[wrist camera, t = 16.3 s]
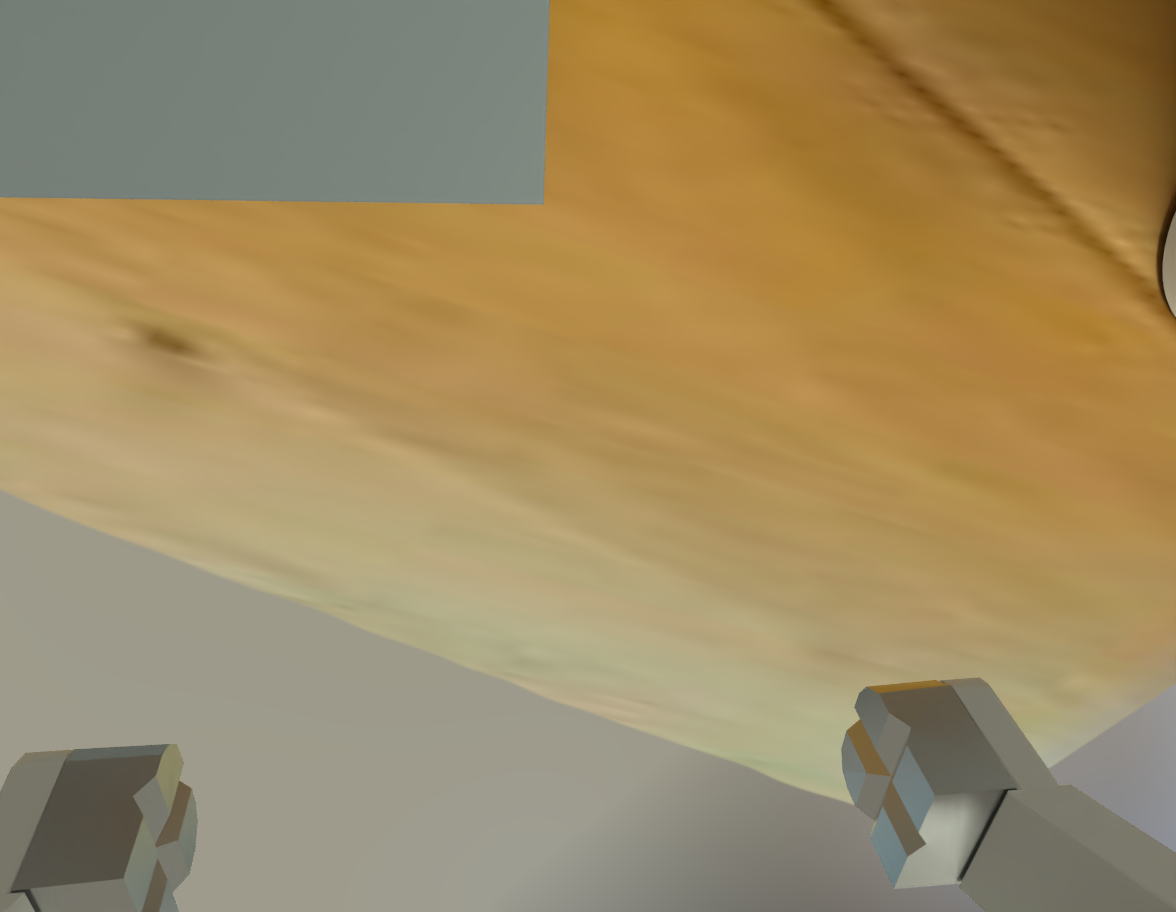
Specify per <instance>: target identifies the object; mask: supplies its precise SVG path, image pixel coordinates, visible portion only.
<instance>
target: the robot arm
mask: <svg viewBox="0 0 1176 912" xmlns="http://www.w3.org/2000/svg"><path fill="white" fill-rule="evenodd" d="M1163 284H1164V290H1165V295H1166V298H1167V301H1168V304H1169V306H1170V308H1171V310H1172V312H1173V314H1174V315H1175V317H1176V212H1175V215H1174V217H1173V220H1172V223H1171V226H1170V229H1169V232H1168V236H1167V240H1166V244H1165V250H1164V257H1163ZM855 709H856V711H857V713H858V715H859V717H860V720H859V721H857V722H856V723H855V724H854V725H853V726H852V727H850V728H849V729H848V730H847V731H846V734H845V738H844V742H843V745H842V749H841V750H842V769H843V774H844V777H845V781H846V785H847V788H848V790H849V793H850V795H851V797H852V799H853V802H854V804H855V806H856V807H857V808H859V809H860V810H861V811H862V812H864V813H865V814H866V815H868V816H869V817H870V818H872V819H873V820H874V825H873V829H872V833H871V837H870V839H871V841H872V843H873V846H874V848H875V849H876V852H877V854H878V856H879V858H880V861H881V863H882V865H883V867H884V869H885V871H886V874H887V876H888V878H889V880H890V882H891V884H892V887H893V889H901V888H912V887H923V886H934V885H945V884H957V883H960V885H959V888H960V889H961V890H962V891H964V892H965V893H966V894H967V895H968V896H969V897H970V898H971V899H972V900H973V901H974V902H975V903H976V904H978V906H980V907H981V908H982V909H983V910H984V911H985V912H1176V853H1175V852H1174V851H1172V850H1171V849H1169V848H1168V847H1166V846H1165V845H1163V844H1162V843H1160V842H1158V841H1157V840H1155V839H1154V838H1152V837H1151V836H1149V835H1148V834H1146V833H1145V832H1143V831H1141V830H1140V829H1138V828H1137V827H1135V826H1134V825H1132V824H1130V823H1129V822H1128V821H1126V820H1124V819H1123V818H1121V817H1120V816H1118V815H1117V814H1115V813H1114V812H1112V811H1111V810H1109V809H1107V808H1106V807H1105V806H1103V805H1101V804H1099V803H1098V802H1097V801H1095V800H1093V799H1092V798H1091V797H1089V796H1088V795H1086V794H1084V793H1083V792H1081V791H1080V790H1078V789H1077V788H1075V787H1074V786H1072V785H1059V784H1058V782H1057V781H1056V780H1055V778H1054V777H1053V775H1052V774H1051V772H1050V771H1049V769H1048V768H1047V766H1046V765H1045V764H1044V762H1043V761H1042V759H1041V758H1040V757H1039V755H1038V754H1037V752H1036V751H1035V749H1034V748H1033V747H1032V745H1031V744H1030V742H1029V741H1028V739H1027V738H1026V737H1025V735H1024V734H1023V732H1022V731H1021V729H1020V728H1019V727H1018V725H1017V724H1016V722H1015V721H1014V719H1013V718H1012V717H1011V715H1010V714H1009V712H1008V711H1007V710H1006V708H1005V707H1004V705H1003V704H1002V702H1001V701H1000V700H999V698H998V697H997V695H996V694H995V692H994V691H993V690H992V688H991V687H990V686H989V684H988V683H986V682H985V681H983V680H982V679H981V678H967V679H954V680H942V681H937V680H932V681H922V682H911V683H901V684H890V685H880V686H869V687H866V688H865V689H863V690H862V691H861V692H860V693H859V695H858V698H857V701H856V704H855ZM183 764H184V762H183V759H182V757H181V754H180V751H179V749H178V746H177V745H176V744H164V745H146V746H129V747H111V748H92V749H75V750H62V751H47V752H33V753H25V754H24V755H23V756H22V757H21V758H20V759H19V760H18V762H17V763H16V764H15V765H14V766H13V767H12V768H11V770H10V772H9V774H8V776H7V779H6V780H5V783H4V785H3V787H2V789H1V791H0V912H179V910H178V907H177V904H176V901H175V899H174V896H173V893H172V892H173V891H174V890H175V889H176V888H177V887H178V886H179V885H180V884H181V883H182V882H183V881H184V879H185V878H186V877H187V876H188V875H189V874H190V869H191V866H192V861H193V857H194V852H195V847H196V834H197V822H198V821H197V810H196V802H195V798H194V795H193V791H192V789H191V788H190V787H189V786H187V785H185V784H184V783H182V782H180V781H179V779H180V775H181V771H182V768H183Z"/></svg>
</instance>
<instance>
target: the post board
mask: <svg viewBox="0 0 1176 912" xmlns="http://www.w3.org/2000/svg"><path fill="white" fill-rule="evenodd" d="M549 6H550V0H0V197H21V198H96V199H171V200H245V201H320V202H394V203H469V204H543V203H544V170H545V137H546V105H547V72H548V39H549Z"/></svg>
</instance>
